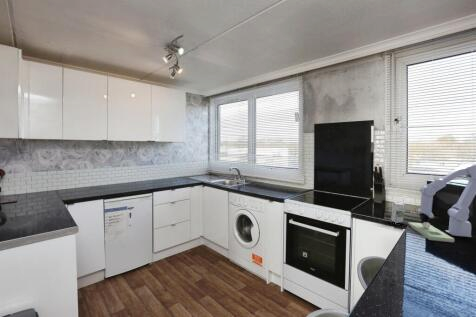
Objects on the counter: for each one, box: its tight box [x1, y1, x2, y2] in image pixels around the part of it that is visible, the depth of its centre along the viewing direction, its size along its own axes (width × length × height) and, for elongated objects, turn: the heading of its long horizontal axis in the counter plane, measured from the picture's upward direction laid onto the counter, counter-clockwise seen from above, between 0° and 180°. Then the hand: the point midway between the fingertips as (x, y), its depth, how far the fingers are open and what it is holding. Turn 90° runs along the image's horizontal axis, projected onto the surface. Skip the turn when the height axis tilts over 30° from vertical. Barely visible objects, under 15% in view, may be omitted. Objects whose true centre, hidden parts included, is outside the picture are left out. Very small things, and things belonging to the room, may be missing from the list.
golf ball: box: [422, 221, 431, 228], centre depth 145 cm, size 4×4×4 cm
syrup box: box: [390, 201, 406, 225], centre depth 160 cm, size 6×6×14 cm
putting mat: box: [408, 221, 455, 243], centre depth 142 cm, size 12×26×2 cm, turn 165°
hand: (424, 225), depth 147 cm, fingers closed, pressing on golf ball
